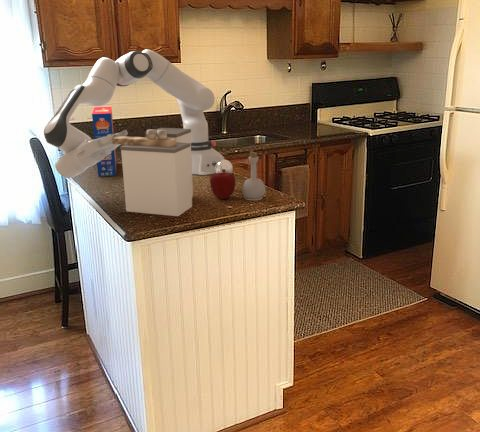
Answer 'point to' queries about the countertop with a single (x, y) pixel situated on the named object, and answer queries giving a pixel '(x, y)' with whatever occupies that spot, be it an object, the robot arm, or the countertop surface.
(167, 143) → the serving board
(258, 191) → the potion bottle
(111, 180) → the countertop surface
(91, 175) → the countertop surface
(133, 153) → the counter block
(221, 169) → the light bulb
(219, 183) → the apple
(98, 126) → the pasta box
